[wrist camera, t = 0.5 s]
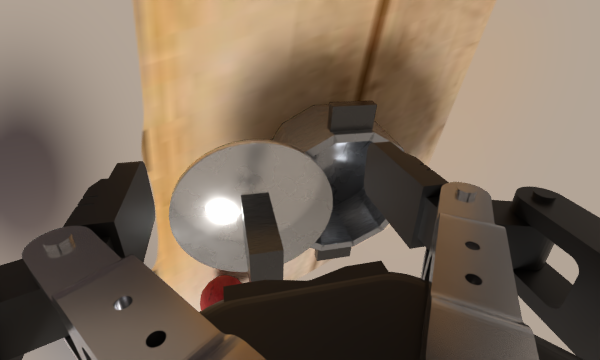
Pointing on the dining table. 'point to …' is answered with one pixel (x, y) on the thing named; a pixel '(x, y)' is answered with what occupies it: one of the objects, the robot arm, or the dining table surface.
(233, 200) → the lid
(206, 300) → the onion
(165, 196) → the dining table surface
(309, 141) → the pot
